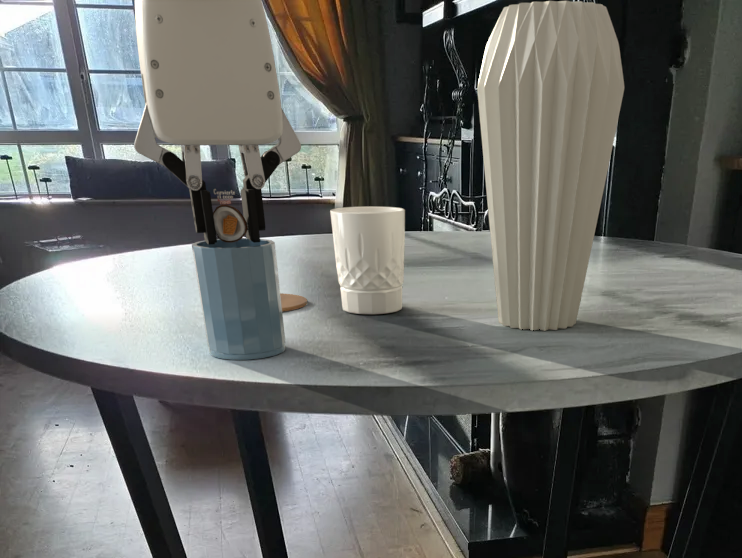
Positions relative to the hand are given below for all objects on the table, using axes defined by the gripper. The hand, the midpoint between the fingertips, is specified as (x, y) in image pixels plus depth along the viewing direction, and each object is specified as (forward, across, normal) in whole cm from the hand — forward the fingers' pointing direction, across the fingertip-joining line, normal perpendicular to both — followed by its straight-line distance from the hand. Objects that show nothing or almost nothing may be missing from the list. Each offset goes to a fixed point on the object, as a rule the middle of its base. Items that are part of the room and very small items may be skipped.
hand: (232, 239), depth 66 cm
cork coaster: (+9, -5, -21) cm, 24 cm away
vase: (+9, -30, -1) cm, 32 cm away
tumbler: (+9, 0, 0) cm, 9 cm away
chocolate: (0, 0, 0) cm, 0 cm away
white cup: (+9, -16, -14) cm, 23 cm away
